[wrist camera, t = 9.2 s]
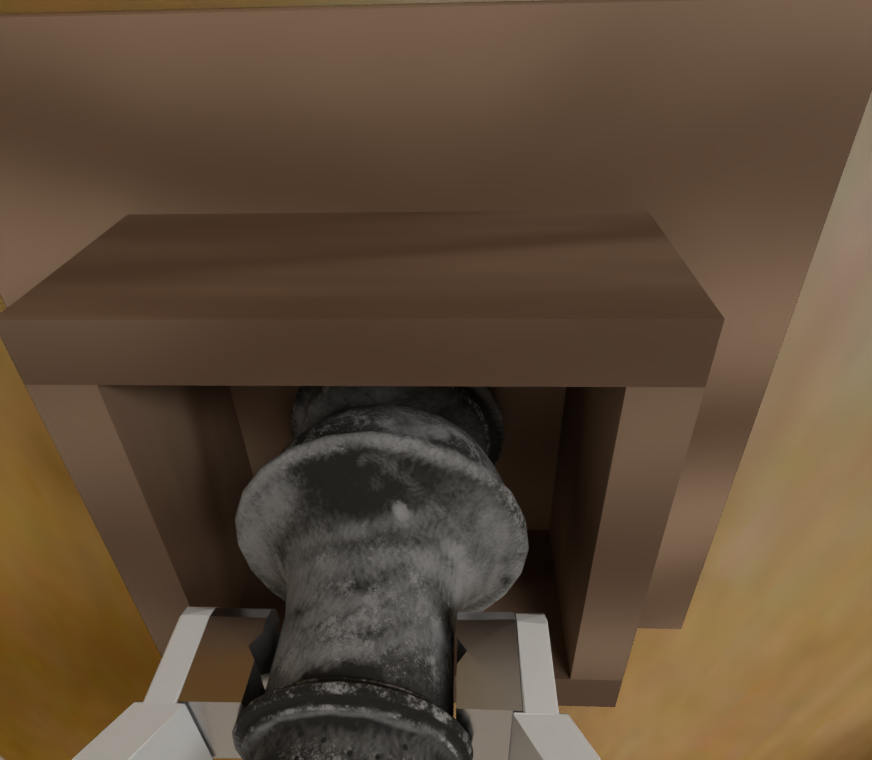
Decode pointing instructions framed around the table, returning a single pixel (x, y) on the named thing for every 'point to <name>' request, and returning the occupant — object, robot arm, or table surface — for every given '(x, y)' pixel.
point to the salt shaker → (376, 568)
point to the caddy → (422, 264)
